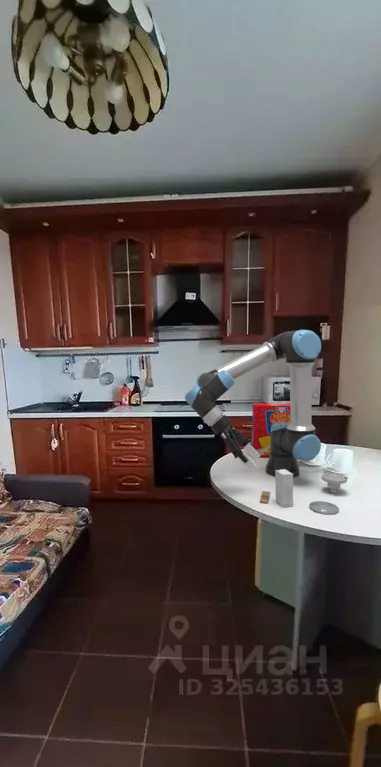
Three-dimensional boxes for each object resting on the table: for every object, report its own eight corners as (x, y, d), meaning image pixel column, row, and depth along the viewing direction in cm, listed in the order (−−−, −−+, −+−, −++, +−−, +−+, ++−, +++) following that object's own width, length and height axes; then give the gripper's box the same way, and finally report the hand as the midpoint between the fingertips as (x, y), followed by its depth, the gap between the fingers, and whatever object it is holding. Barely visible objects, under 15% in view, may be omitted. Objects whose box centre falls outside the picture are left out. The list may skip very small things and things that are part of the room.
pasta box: (252, 457, 195) (253, 405, 192) (251, 453, 203) (252, 403, 200) (306, 459, 192) (308, 406, 190) (303, 455, 200) (305, 404, 198)
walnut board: (262, 493, 146) (262, 491, 146) (270, 493, 145) (270, 491, 145) (259, 502, 136) (259, 500, 136) (267, 503, 135) (268, 501, 135)
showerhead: (344, 480, 140) (318, 474, 146) (343, 498, 141) (317, 492, 147) (351, 474, 147) (326, 468, 154) (350, 491, 148) (325, 485, 154)
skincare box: (293, 506, 133) (294, 473, 132) (282, 507, 132) (283, 474, 131) (285, 499, 139) (286, 468, 138) (274, 501, 138) (275, 469, 137)
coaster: (308, 501, 138) (308, 499, 138) (337, 504, 135) (337, 503, 135) (309, 512, 128) (309, 510, 128) (340, 516, 125) (340, 514, 125)
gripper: (217, 421, 153) (252, 459, 150) (201, 433, 129) (243, 480, 126) (230, 409, 151) (266, 448, 148) (216, 419, 127) (259, 466, 124)
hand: (255, 463), depth 137 cm, fingers open, 13 cm apart
